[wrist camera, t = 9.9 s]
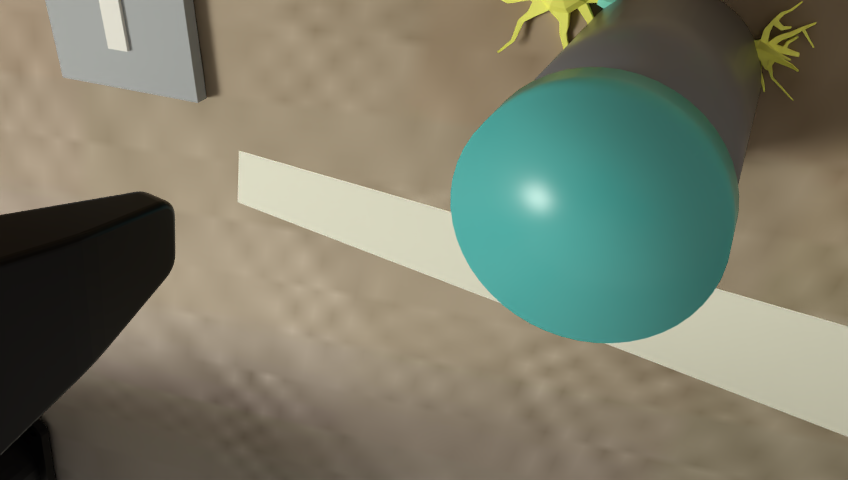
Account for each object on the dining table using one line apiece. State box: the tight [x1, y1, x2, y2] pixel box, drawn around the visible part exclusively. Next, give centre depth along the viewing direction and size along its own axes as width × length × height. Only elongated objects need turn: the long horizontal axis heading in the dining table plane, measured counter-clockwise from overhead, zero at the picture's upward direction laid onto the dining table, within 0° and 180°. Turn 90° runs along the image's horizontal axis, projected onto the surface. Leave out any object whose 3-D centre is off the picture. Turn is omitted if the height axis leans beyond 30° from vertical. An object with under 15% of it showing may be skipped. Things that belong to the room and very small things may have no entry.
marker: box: [451, 0, 762, 343], centre depth 15 cm, size 4×4×7 cm
